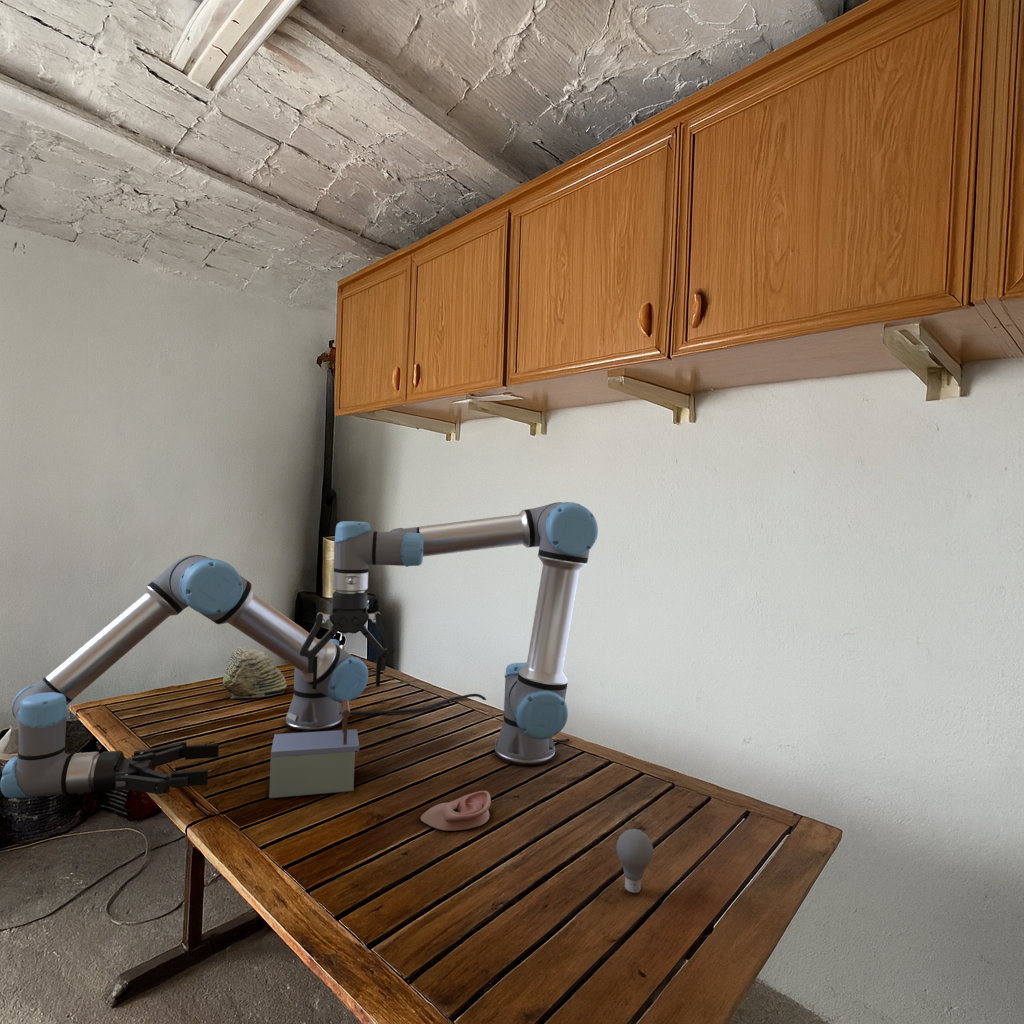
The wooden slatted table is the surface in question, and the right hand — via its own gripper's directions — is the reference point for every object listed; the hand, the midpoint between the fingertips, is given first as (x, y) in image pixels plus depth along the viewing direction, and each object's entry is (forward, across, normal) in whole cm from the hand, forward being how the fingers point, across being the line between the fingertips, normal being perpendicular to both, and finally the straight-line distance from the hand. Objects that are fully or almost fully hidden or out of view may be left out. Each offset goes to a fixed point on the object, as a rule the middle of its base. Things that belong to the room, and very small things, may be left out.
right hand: (346, 686), depth 141 cm
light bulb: (+21, +45, -51) cm, 71 cm away
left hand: (+15, -27, 0) cm, 31 cm away
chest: (+21, -6, 0) cm, 22 cm away
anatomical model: (+21, +21, -21) cm, 37 cm away
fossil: (+21, -25, +67) cm, 74 cm away
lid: (+13, -6, 0) cm, 14 cm away
